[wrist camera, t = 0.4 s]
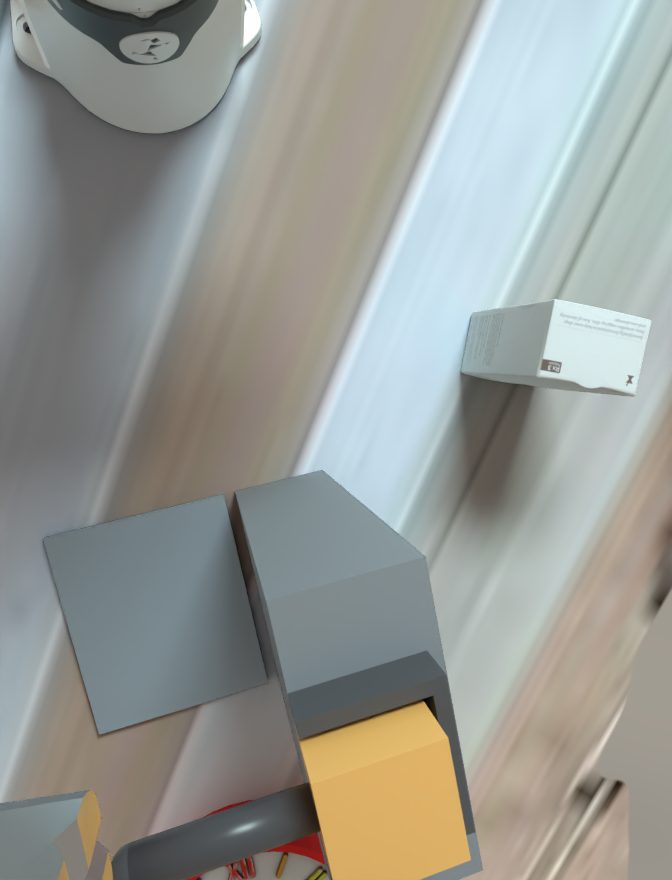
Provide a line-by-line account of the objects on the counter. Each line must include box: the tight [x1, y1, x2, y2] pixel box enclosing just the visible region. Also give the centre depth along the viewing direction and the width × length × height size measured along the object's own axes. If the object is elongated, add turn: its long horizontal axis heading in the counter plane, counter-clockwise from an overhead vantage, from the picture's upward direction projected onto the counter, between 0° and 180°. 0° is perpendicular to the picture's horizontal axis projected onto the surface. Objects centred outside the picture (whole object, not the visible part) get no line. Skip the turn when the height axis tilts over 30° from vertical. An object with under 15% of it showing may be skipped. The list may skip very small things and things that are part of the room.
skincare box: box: [461, 299, 651, 396], centre depth 51 cm, size 8×6×15 cm
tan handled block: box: [111, 699, 471, 880], centre depth 27 cm, size 6×15×5 cm, turn 102°
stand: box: [235, 470, 483, 880], centre depth 42 cm, size 18×8×28 cm, turn 12°
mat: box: [43, 494, 268, 735], centre depth 53 cm, size 18×15×1 cm
